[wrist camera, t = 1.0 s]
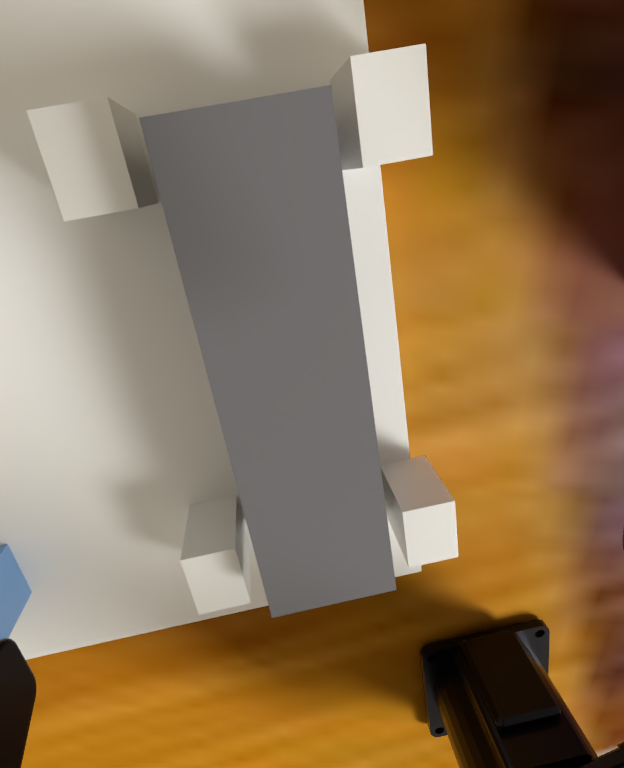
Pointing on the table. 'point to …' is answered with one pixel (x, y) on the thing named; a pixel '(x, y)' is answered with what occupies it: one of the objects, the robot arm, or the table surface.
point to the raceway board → (163, 307)
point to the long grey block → (280, 335)
